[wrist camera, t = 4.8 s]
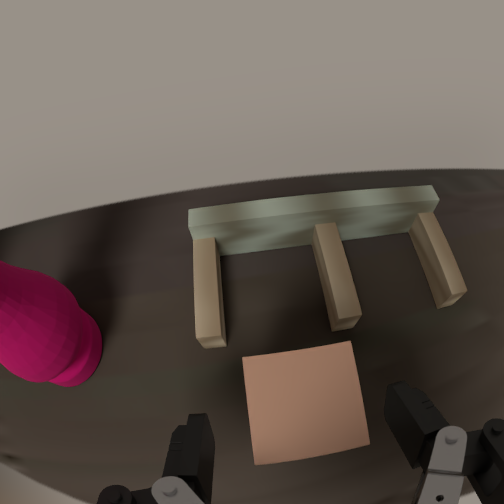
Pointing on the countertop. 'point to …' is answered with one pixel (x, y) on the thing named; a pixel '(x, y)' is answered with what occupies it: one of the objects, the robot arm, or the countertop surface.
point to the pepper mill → (45, 329)
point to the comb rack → (318, 245)
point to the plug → (304, 403)
